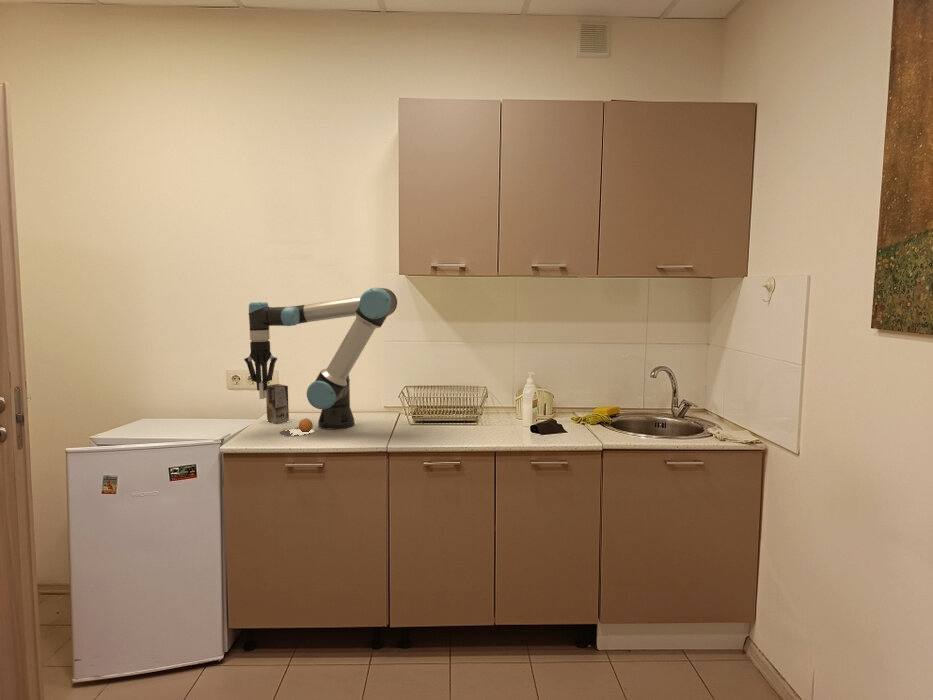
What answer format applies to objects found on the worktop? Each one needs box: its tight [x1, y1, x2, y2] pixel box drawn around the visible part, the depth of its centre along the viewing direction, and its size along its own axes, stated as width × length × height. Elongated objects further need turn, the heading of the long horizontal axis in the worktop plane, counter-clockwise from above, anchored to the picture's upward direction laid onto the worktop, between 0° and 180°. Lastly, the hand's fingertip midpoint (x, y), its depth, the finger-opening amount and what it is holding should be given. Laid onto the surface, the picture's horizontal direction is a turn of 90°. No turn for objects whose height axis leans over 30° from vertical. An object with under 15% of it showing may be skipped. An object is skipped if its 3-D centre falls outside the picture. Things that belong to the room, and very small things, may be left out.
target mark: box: [279, 428, 311, 437], centre depth 238 cm, size 14×14×1 cm
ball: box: [298, 418, 314, 432], centre depth 238 cm, size 6×6×6 cm
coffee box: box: [265, 383, 290, 424], centre depth 257 cm, size 9×6×16 cm
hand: (262, 398), depth 237 cm, fingers closed
